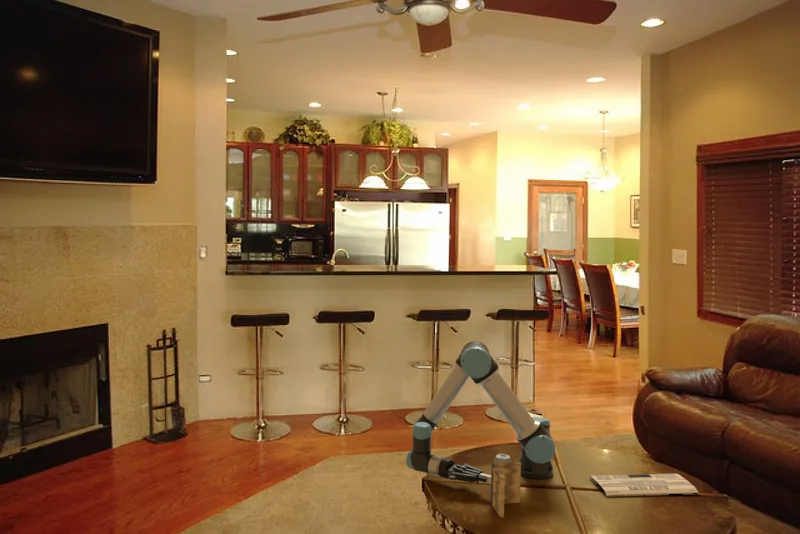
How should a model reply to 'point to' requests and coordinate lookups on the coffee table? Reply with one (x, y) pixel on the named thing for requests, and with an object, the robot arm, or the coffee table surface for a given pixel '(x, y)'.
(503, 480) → the panel
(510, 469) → the fence panel
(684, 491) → the newspaper
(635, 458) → the coffee table surface
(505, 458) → the beverage can
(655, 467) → the coffee table surface
